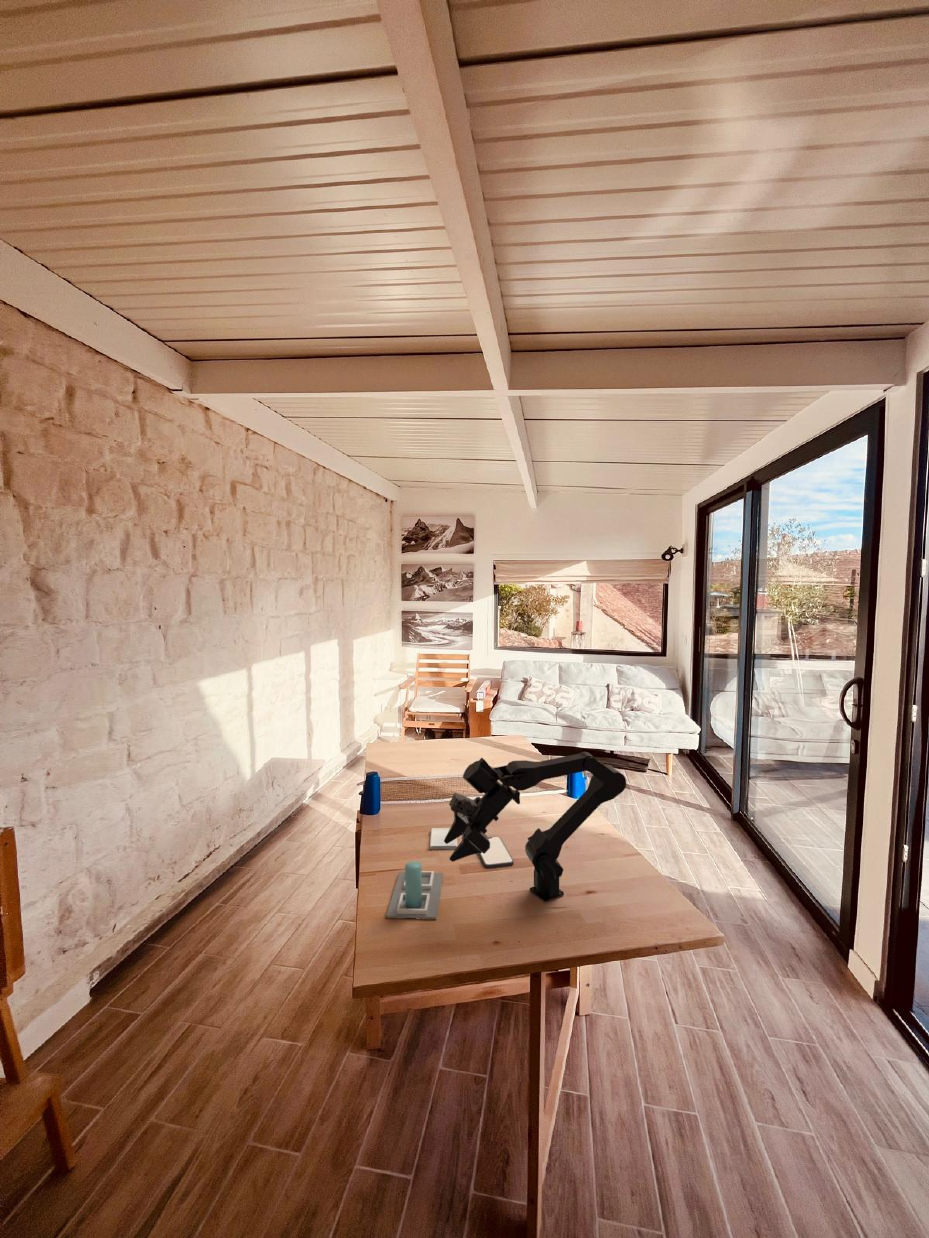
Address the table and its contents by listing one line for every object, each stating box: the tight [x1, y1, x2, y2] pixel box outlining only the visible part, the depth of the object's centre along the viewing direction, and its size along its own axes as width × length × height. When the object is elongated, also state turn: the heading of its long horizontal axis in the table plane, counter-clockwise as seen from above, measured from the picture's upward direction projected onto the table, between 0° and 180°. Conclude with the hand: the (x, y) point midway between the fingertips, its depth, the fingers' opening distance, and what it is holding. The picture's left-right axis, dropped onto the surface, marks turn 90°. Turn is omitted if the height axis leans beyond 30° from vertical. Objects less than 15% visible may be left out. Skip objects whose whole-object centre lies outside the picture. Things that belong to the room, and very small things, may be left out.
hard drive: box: [429, 827, 458, 850], centre depth 173 cm, size 2×8×12 cm
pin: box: [404, 861, 423, 909], centre depth 137 cm, size 4×4×10 cm
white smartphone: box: [477, 836, 515, 869], centre depth 164 cm, size 9×2×16 cm
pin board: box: [385, 870, 444, 920], centre depth 143 cm, size 20×12×2 cm, turn 178°
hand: (447, 851), depth 138 cm, fingers open, 9 cm apart
